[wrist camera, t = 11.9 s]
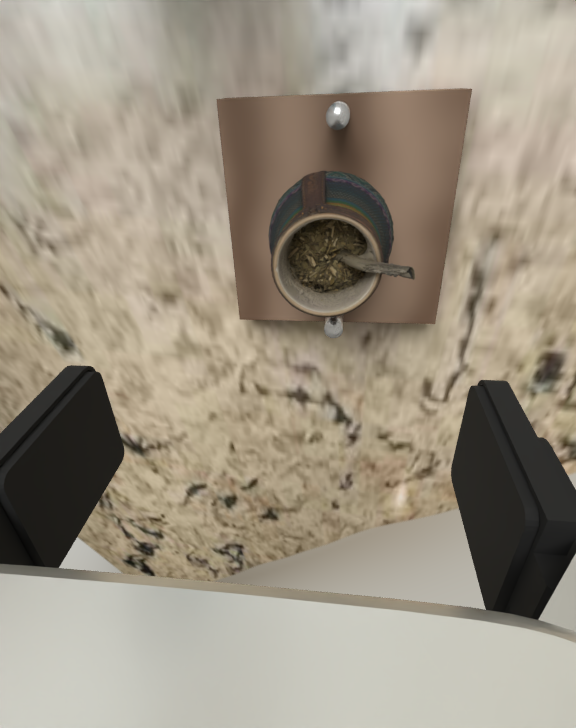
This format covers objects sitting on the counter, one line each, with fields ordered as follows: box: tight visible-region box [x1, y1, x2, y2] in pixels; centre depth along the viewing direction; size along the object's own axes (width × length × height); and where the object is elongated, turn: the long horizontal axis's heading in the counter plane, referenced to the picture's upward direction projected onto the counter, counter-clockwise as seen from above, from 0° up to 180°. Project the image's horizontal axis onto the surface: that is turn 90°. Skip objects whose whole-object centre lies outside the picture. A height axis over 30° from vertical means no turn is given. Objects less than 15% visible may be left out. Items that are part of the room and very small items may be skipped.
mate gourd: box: [268, 170, 415, 317], centre depth 24 cm, size 7×8×10 cm
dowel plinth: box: [217, 88, 472, 338], centre depth 28 cm, size 14×14×6 cm
